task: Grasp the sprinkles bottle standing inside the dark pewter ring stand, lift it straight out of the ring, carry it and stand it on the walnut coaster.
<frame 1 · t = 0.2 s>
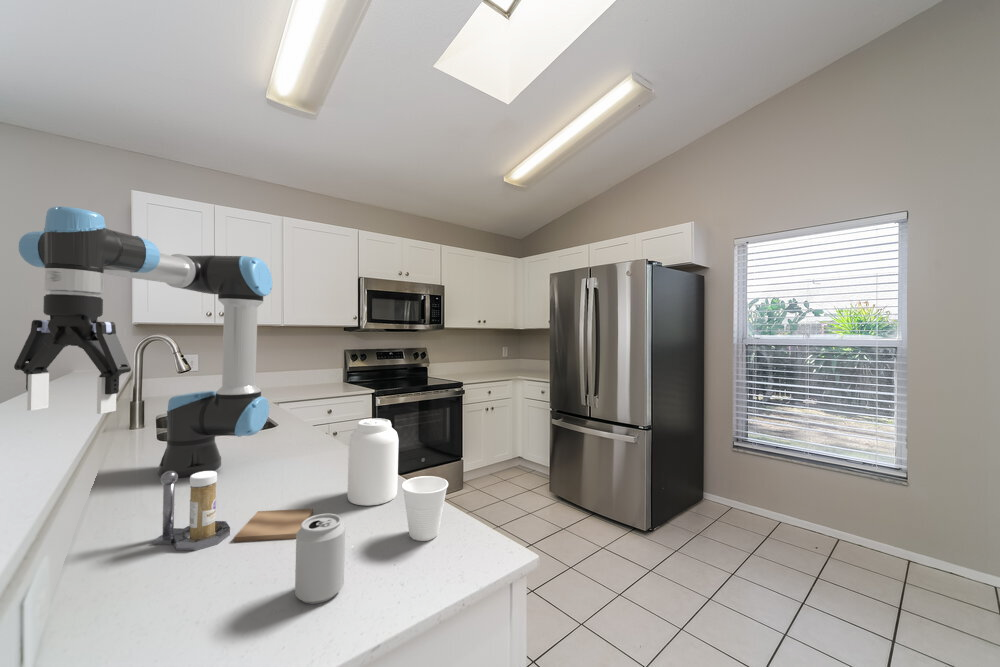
hand: (72, 410, 75), 28 cm above the worktop, fingers open, 13 cm apart
cup: (423, 535, 88), on the worktop
coaster: (276, 526, 90), on the worktop
ring stand: (202, 538, 84), on the worktop
can: (319, 593, 68), on the worktop
sprinkles bottle: (202, 539, 84), resting in ring stand
can 2: (372, 497, 107), on the worktop
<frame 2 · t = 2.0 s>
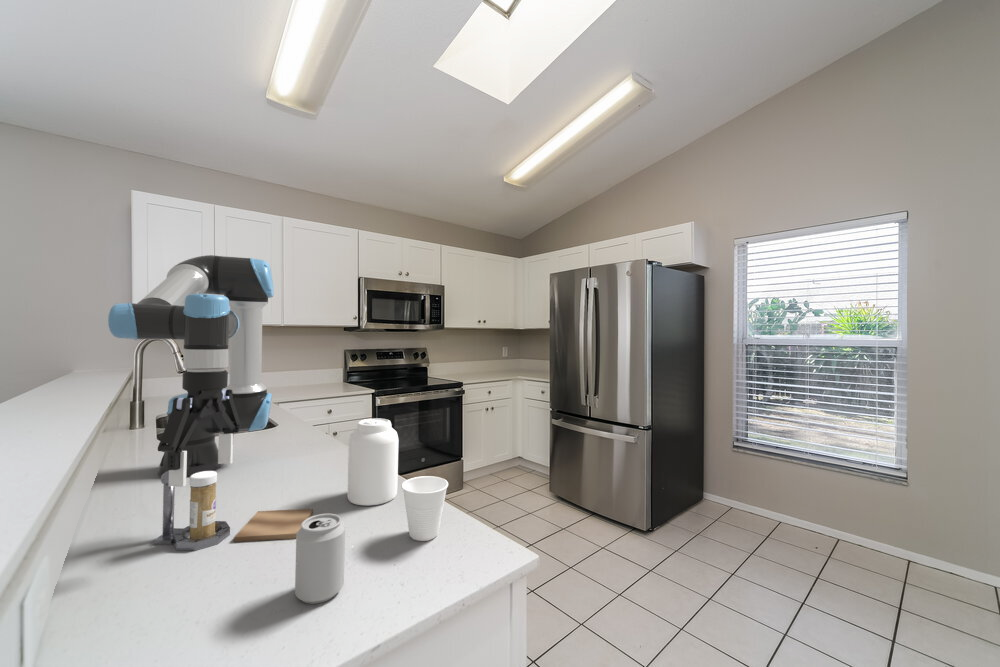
hand: (203, 473, 84), 14 cm above the worktop, fingers open, 13 cm apart
nothing on the worktop moved.
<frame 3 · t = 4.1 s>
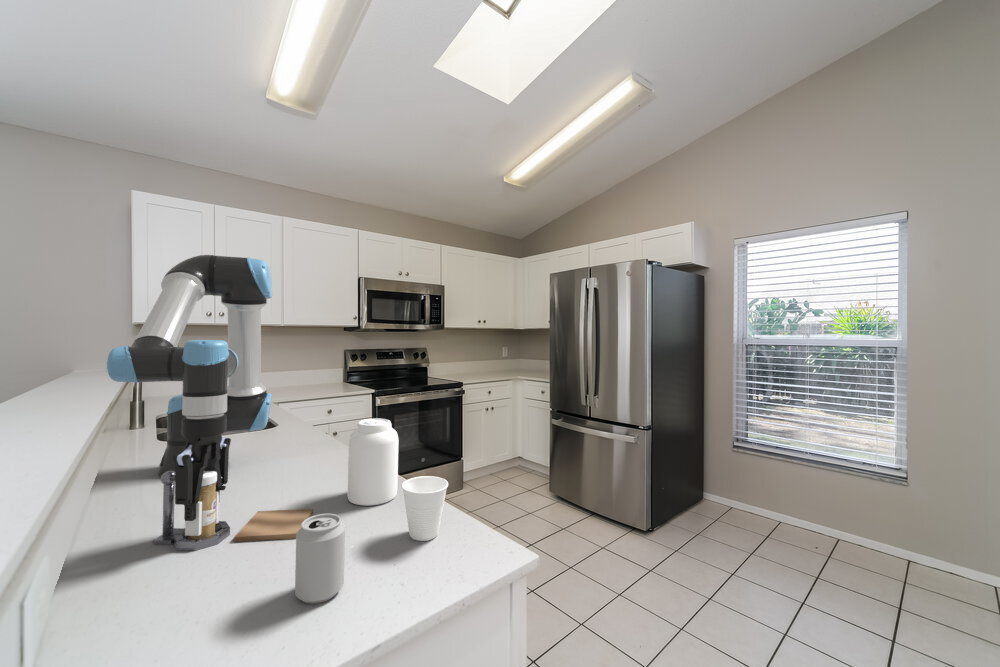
hand: (202, 528, 84), 2 cm above the worktop, fingers closed on sprinkles bottle, 4 cm apart
sprinkles bottle: (202, 539, 84), resting in ring stand, touching gripper
everything else where it was.
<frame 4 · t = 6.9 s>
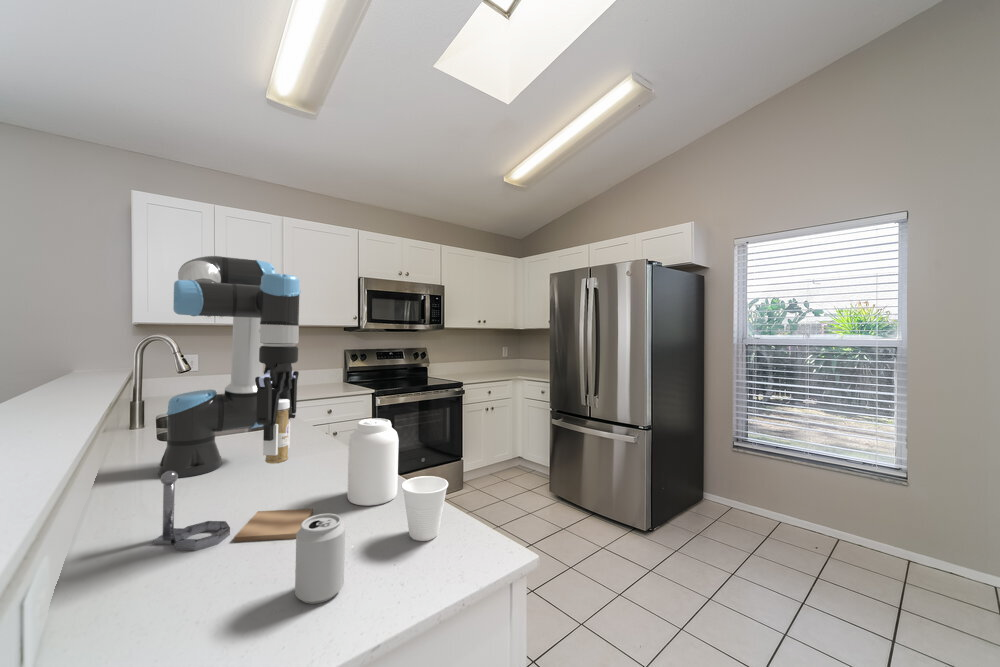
hand: (276, 451, 90), 17 cm above the worktop, fingers closed on sprinkles bottle, 4 cm apart
sprinkles bottle: (276, 461, 90), point 14 cm above the worktop, touching gripper
everything else where it was.
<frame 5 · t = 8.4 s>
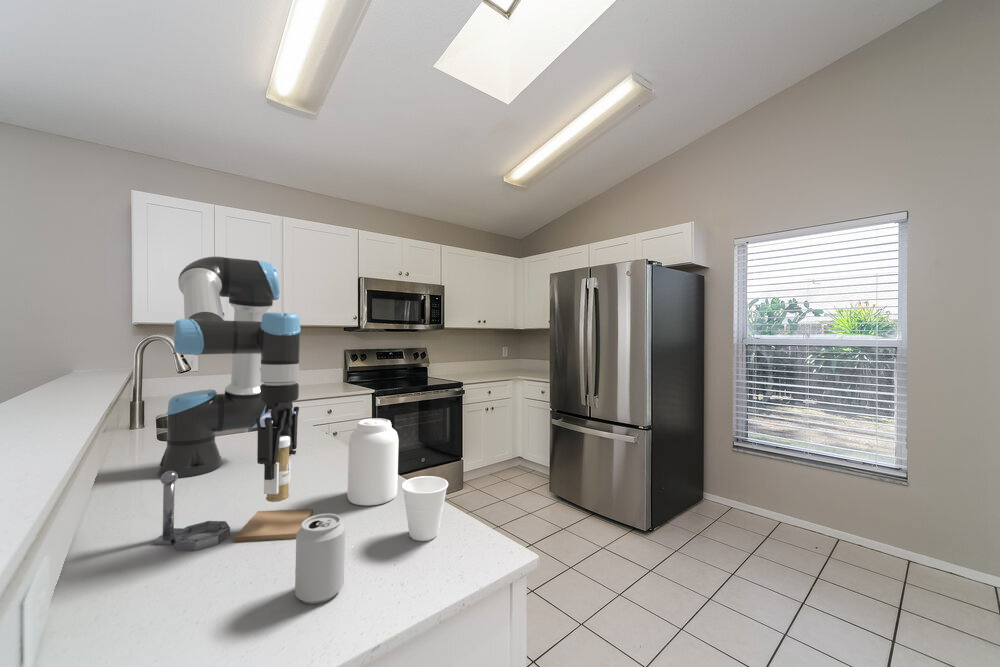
hand: (277, 488, 90), 8 cm above the worktop, fingers closed on sprinkles bottle, 4 cm apart
sprinkles bottle: (277, 499, 90), point 6 cm above the worktop, touching gripper
everything else where it was.
when the fingers open (4 cm above the worktop, at t = 9.9 s): sprinkles bottle stays where it is, resting on coaster.
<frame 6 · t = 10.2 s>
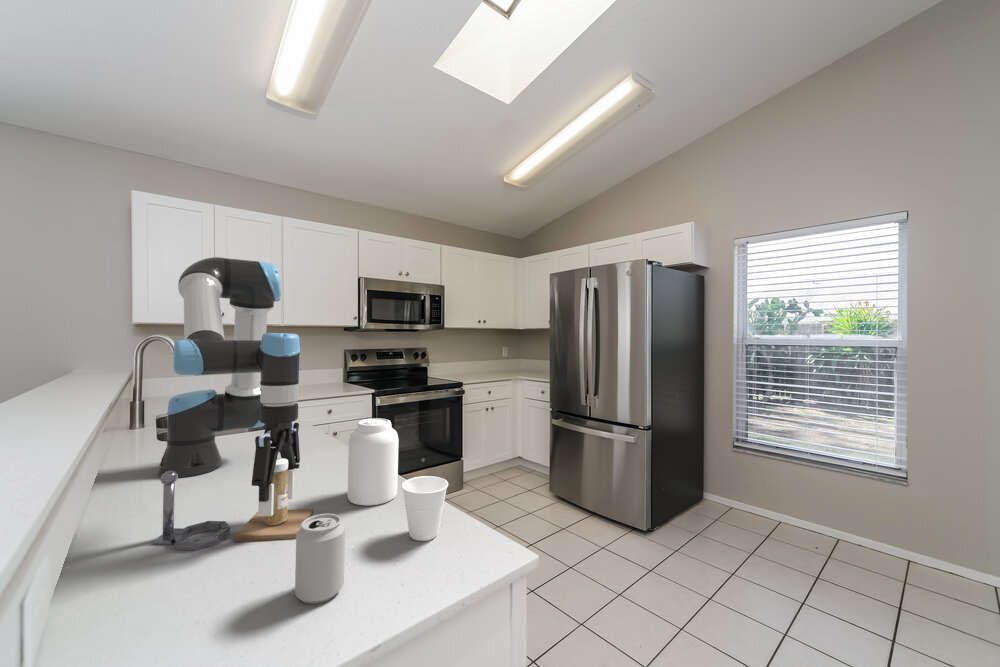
hand: (277, 506, 90), 4 cm above the worktop, fingers open, 8 cm apart
sprinkles bottle: (276, 522, 90), point 1 cm above the worktop, touching coaster
everything else where it was.
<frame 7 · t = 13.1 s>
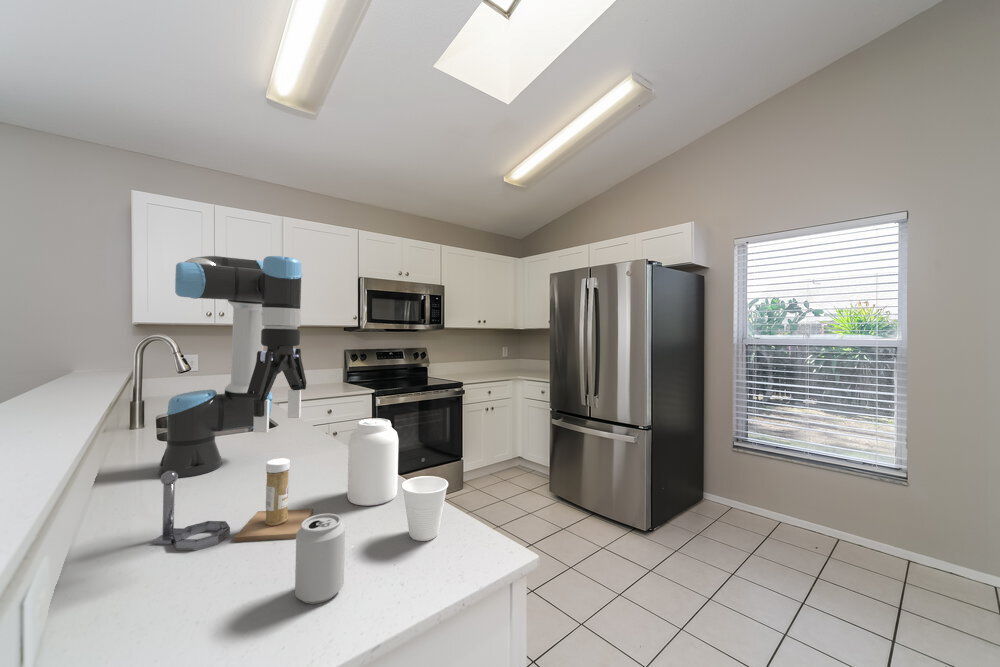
hand: (278, 424, 90), 22 cm above the worktop, fingers open, 13 cm apart
nothing on the worktop moved.
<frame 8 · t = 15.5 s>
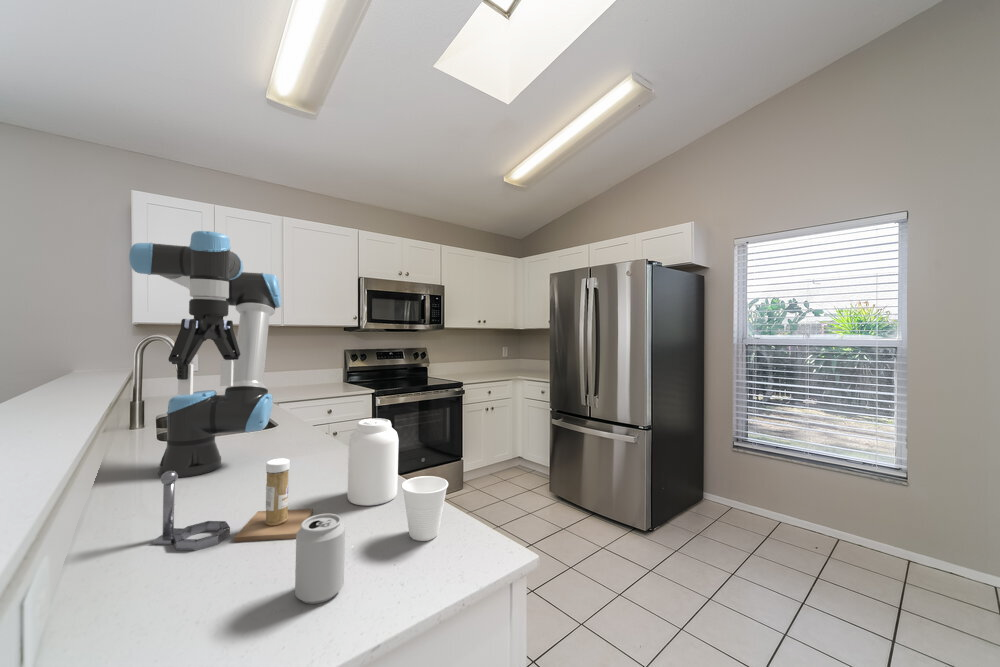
hand: (207, 390, 96), 29 cm above the worktop, fingers open, 13 cm apart
nothing on the worktop moved.
at the end: sprinkles bottle inside the target area on the coaster (0.0 cm from its centre), point 0.8 cm above the coaster's base; sprinkles bottle tilted 0°; the gripper is holding nothing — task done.
